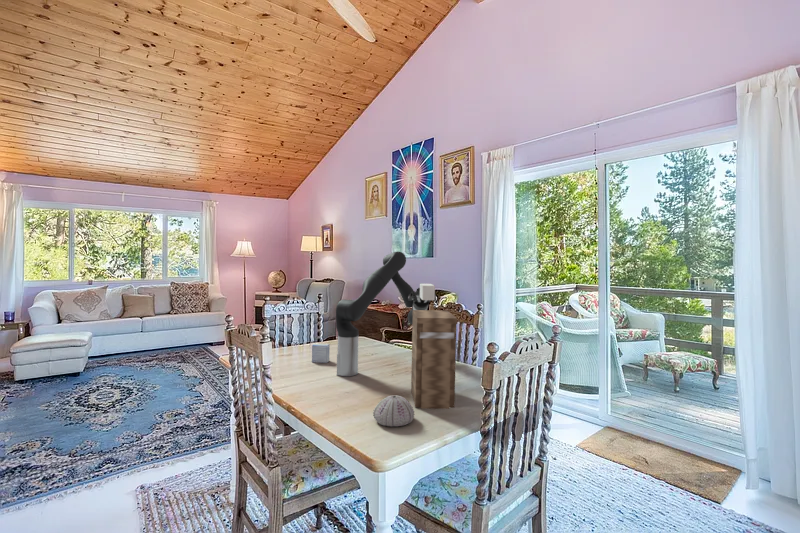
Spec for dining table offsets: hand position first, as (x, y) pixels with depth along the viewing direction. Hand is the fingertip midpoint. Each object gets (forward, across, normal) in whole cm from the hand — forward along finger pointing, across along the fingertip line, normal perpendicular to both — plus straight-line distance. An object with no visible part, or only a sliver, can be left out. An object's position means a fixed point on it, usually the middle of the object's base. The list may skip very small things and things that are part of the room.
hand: (424, 289), depth 179 cm
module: (+3, 0, +5) cm, 6 cm away
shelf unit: (+8, 0, +49) cm, 50 cm away
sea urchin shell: (+26, -15, +59) cm, 66 cm away
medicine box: (-36, -49, +24) cm, 65 cm away
